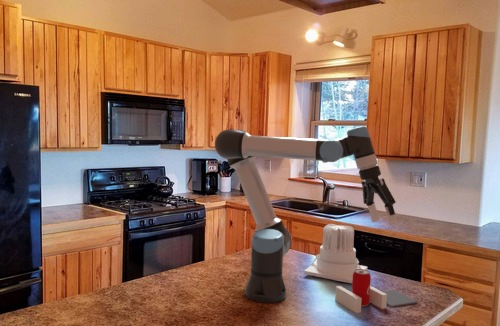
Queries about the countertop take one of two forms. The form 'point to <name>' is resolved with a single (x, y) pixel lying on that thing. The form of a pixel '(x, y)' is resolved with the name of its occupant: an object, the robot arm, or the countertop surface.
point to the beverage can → (361, 285)
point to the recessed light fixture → (336, 255)
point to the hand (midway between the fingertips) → (384, 222)
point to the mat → (397, 299)
